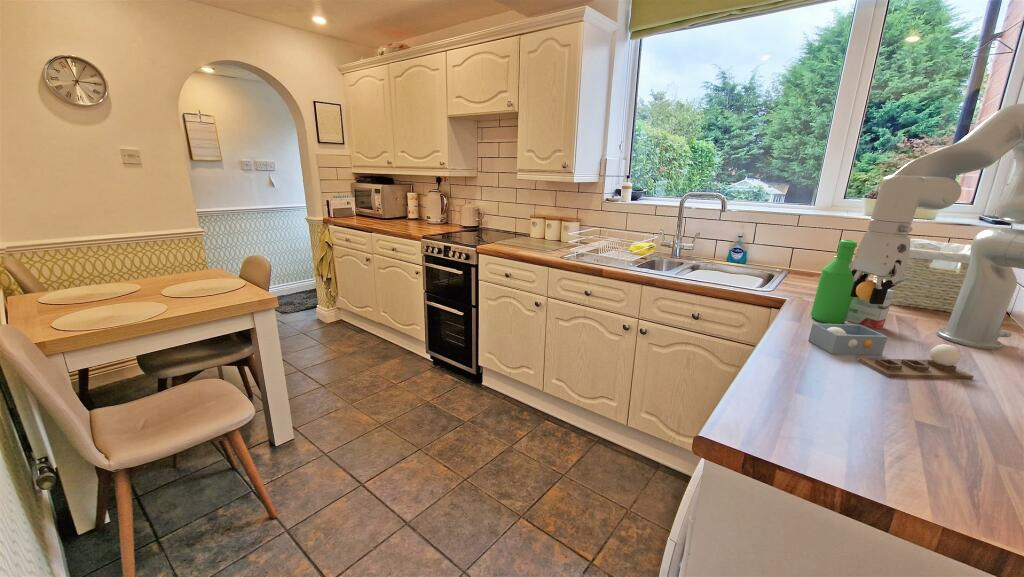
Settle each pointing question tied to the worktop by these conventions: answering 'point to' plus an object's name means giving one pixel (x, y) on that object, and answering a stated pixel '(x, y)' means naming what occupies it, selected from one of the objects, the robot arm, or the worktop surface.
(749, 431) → the worktop surface
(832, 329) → the cream ball in tray
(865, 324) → the ink box
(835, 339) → the pale blue tray
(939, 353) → the cream ball on rack
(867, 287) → the orange ball
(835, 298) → the bottle
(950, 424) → the worktop surface
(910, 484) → the worktop surface
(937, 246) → the basket
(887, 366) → the walnut rack
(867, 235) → the robot arm
